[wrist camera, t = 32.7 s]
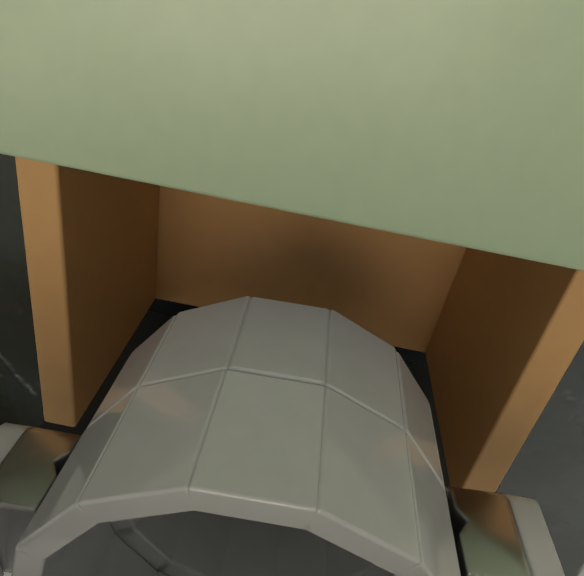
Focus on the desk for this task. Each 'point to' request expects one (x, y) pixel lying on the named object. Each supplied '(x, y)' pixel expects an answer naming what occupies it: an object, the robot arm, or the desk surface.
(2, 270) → the desk surface
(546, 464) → the desk surface
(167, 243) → the drawer
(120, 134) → the cabinet
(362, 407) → the steel bowl
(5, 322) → the desk surface
